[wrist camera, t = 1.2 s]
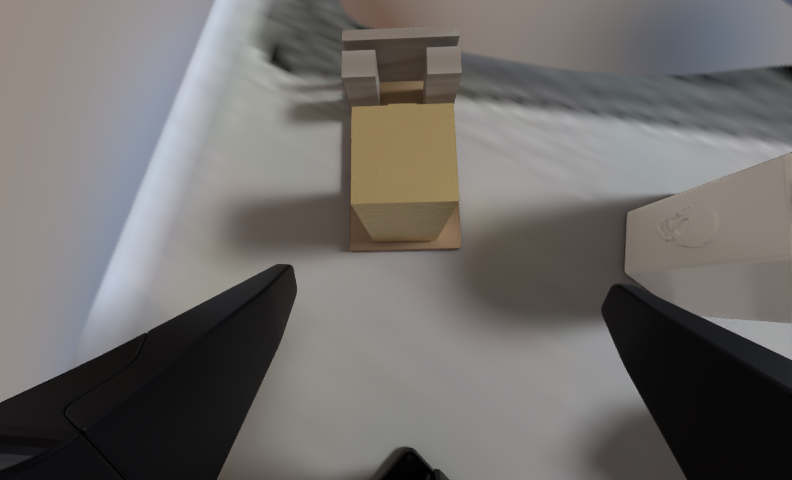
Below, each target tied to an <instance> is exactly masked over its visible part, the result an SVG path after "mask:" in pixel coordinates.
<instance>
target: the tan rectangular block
mask: <svg viewBox="0 0 792 480" xmlns="http://www.w3.org/2000/svg"><path fill="white" fill-rule="evenodd" d="M458 203H459V187H458V170H457V153H456V136H455V120H454V103H441V104H416V103H404V104H388V105H387V106H360V107H352V135H351V205H352V207H353V209H354V210H355V212H356V213H357V215H358V217H359V218H360V220H361V221H362V223H363V225H364V226H365V228H366V230H367V231H368V233H369V234H370V236H371V238H372V239H373V241H374V242H401V241H436V240H437V238H438V237H439V235H440V233H441V232H442V230H443V228H444V227H445V225H446V223H447V221H448V220H449V218H450V216H451V215H452V213H453V211H454V209H455V208H456V206H457V204H458Z"/></svg>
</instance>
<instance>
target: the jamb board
mask: <svg viewBox="0 0 792 480" xmlns="http://www.w3.org/2000/svg"><path fill="white" fill-rule="evenodd" d="M458 40H459V26H436V27H416V28H415V27H413V28H390V29H368V30H346V31H343V32H342V41H343V45H344V49H345V51H342V80H343V84H344V87H345V91H346V94H347V97H348V101H349V104H350V107H351V135H352V107H360V106H387V105H388V104H404V103H416V104H441V103H454V101H455V98H456V94H457V90H458V86H459V82H460V78H461V74H462V69H461V54H460V46H457V44H458ZM460 248H461V233H460V216H459V203H458V204H457V206H456V208H455V209H454V211H453V213H452V215H451V216H450V218H449V220H448V221H447V223H446V225H445V227H444V228H443V230H442V232H441V233H440V235H439V237H438V238H437V240H436V241H401V242H374V241H373V239H372V238H371V236H370V234H369V233H368V231H367V230H366V228H365V226H364V225H363V223H362V221H361V220H360V218H359V217H358V215H357V213H356V212H355V210H354V209H353V207H352V205H351V196H350V251H352V252H365V251H410V250H455V249H460Z"/></svg>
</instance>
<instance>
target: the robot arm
mask: <svg viewBox="0 0 792 480" xmlns="http://www.w3.org/2000/svg"><path fill="white" fill-rule="evenodd" d="M296 294H297V285H296V279H295V274H294V269H293V267H292V266H291V265H289V264H276V265H274V266H272V267H270V268H269V269H267V270H265V271H263V272H261V273H259V274H257V275H255V276H253V277H251V278H249V279H247V280H245V281H244V282H242V283H240V284H238V285H236V286H234V287H232V288H230V289H228V290H226V291H224V292H222V293H221V294H219V295H217V296H215V297H213V298H211V299H209V300H207V301H205V302H203V303H201V304H199V305H197V306H196V307H194V308H192V309H190V310H188V311H186V312H184V313H182V314H180V315H178V316H176V317H174V318H173V319H171V320H169V321H167V322H165V323H163V324H161V325H159V326H157V327H155V328H153V329H151V330H150V331H148V334H147V333H144V334H142V335H140V336H138V337H136V338H134V339H132V340H130V341H128V342H126V343H124V344H122V345H120V346H119V347H117V348H115V349H113V350H111V351H109V352H107V353H105V354H103V355H101V356H99V357H97V358H95V359H93V360H90V361H88V362H86V363H84V364H82V365H80V366H78V367H76V368H74V369H71V370H69V371H67V372H65V373H63V374H61V375H59V376H57V377H54V378H53V379H50V380H48V381H46V382H44V383H42V384H39V385H37V386H35V387H33V388H31V389H29V390H27V391H24V392H22V393H20V394H18V395H16V396H14V397H11V398H9V399H7V400H5V401H3V402H1V403H0V480H217V478H218V475H219V473H220V471H221V469H222V467H223V465H224V463H225V460H226V458H227V456H228V454H229V452H230V450H231V448H232V445H233V443H234V441H235V439H236V437H237V435H238V432H239V430H240V428H241V426H242V424H243V422H244V420H245V417H246V415H247V413H248V411H249V409H250V407H251V405H252V402H253V400H254V398H255V396H256V394H257V392H258V390H259V387H260V385H261V383H262V381H263V379H264V377H265V374H266V372H267V370H268V368H269V366H270V364H271V362H272V359H273V357H274V355H275V353H276V351H277V349H278V346H279V344H280V342H281V339H282V336H283V333H284V330H285V327H286V324H287V321H288V318H289V315H290V312H291V309H292V306H293V303H294V300H295V297H296ZM601 312H602V316H603V318H604V320H605V323H606V325H607V327H608V330H609V332H610V334H611V337H612V339H613V341H614V344H615V346H616V348H617V351H618V353H619V355H620V358H621V360H622V362H623V364H624V366H625V368H626V370H627V372H628V374H629V376H630V377H631V379H632V381H633V383H634V385H635V387H636V388H637V390H638V392H639V394H640V396H641V397H642V399H643V401H644V403H645V405H646V406H647V408H648V410H649V412H650V414H651V415H652V417H653V419H654V421H655V423H656V424H657V426H658V428H659V430H660V432H661V434H662V435H663V437H664V439H665V441H666V443H667V444H668V446H669V448H670V450H671V452H672V453H673V455H674V457H675V459H676V461H677V462H678V464H679V466H680V468H681V470H682V472H683V473H684V475H685V477H686V479H687V480H792V360H790V359H788V358H786V357H784V356H782V355H780V354H778V353H775V352H773V351H771V350H769V349H767V348H765V347H763V346H761V345H759V344H756V343H754V342H752V341H750V340H748V339H746V338H744V337H742V336H740V335H737V334H735V333H733V332H731V331H729V330H727V329H725V328H723V327H721V326H719V325H716V324H714V323H712V322H710V321H708V320H706V319H704V318H702V317H700V316H697V315H695V314H693V313H691V312H689V311H687V310H685V309H683V308H681V307H678V306H676V305H674V304H672V303H670V302H668V301H666V300H664V299H662V298H660V297H657V296H655V295H653V294H651V293H649V292H647V291H645V290H643V289H641V288H638V287H636V286H634V285H631V284H614V285H613V286H612V287H611V288H610V290H609V292H608V294H607V296H606V298H605V301H604V303H603V305H602V308H601ZM409 455H411V456H413V457H414V459H413V460H411V461H409V460H408V459H407V456H409ZM379 480H449V479H448V478H447V477H446V476H445V475H444V474H443V473H442V472H441V471H440V470H439V469H434V470H433V469H432V468H431V466H430V465H429V464H428V463H427V462H426V461H425V460H424V459H423V458H422V457H421V456H420V455H419V454H418V452H417V451H416V450H414V449H413V448H407V449H406V450H404V452H403V453H402V454H401V455H400V456H399V457H398V458H397V460H396V461H395V462H394V463H393V464H392V465H391V466H390V468H389V469H388V470H387V471H386V472H385V473H384V474H383V476H382V477H381V478H380V479H379Z"/></svg>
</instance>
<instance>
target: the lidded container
mask: <svg viewBox="0 0 792 480" xmlns="http://www.w3.org/2000/svg"><path fill="white" fill-rule="evenodd" d="M624 271H625V273H626V274H627V275H628V276H629V277H631V278H632V279H633V280H635V281H636V282H638V283H639V284H640V285H642V286H643V287H644V288H646V289H647V290H648V291H650V292H651V293H652V294H654V295H655V296H657V297H660V298H662V299H664V300H666V301H668V302H670V303H672V304H674V305H676V306H678V307H681V308H683V309H685V310H687V311H689V312H691V313H693V314H695V315H697V316H703V317H716V318H729V319H742V320H754V321H767V322H780V323H792V152H791V153H788V154H785V155H782V156H780V157H777V158H774V159H771V160H769V161H766V162H763V163H760V164H758V165H755V166H752V167H750V168H747V169H744V170H741V171H739V172H736V173H733V174H730V175H728V176H725V177H722V178H719V179H717V180H714V181H711V182H708V183H706V184H703V185H700V186H697V187H695V188H692V189H689V190H687V191H684V192H681V193H678V194H676V195H673V196H670V197H667V198H665V199H662V200H659V201H656V202H654V203H651V204H648V205H645V206H643V207H640V208H637V209H634V210H632V211H629V212H628V213H627V225H626V247H625V268H624Z"/></svg>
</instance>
